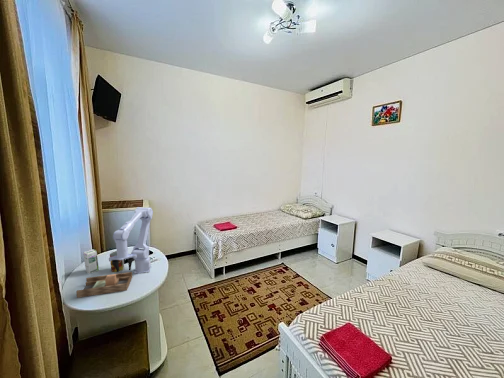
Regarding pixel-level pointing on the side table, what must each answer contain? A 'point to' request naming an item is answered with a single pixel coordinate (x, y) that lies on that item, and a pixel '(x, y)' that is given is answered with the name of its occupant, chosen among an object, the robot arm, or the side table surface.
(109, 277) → the terracotta block
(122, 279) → the trap lane
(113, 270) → the canned food
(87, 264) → the syrup box
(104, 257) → the side table surface
